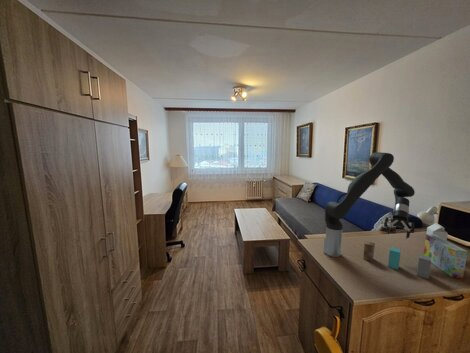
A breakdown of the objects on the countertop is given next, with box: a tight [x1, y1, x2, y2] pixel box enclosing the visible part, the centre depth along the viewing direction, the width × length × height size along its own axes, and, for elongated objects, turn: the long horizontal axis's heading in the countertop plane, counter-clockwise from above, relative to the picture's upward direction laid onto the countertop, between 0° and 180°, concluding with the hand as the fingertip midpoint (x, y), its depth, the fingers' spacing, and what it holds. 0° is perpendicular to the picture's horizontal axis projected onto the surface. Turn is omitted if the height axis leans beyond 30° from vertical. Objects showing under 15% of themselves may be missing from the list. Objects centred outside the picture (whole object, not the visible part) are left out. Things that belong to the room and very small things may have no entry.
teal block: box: [387, 246, 402, 270], centre depth 112 cm, size 4×4×10 cm
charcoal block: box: [416, 254, 432, 280], centre depth 104 cm, size 4×4×10 cm
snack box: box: [423, 233, 469, 279], centre depth 111 cm, size 21×6×15 cm, turn 168°
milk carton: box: [426, 222, 448, 241], centre depth 127 cm, size 7×7×19 cm
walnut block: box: [362, 240, 376, 262], centre depth 120 cm, size 4×4×10 cm
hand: (397, 235), depth 119 cm, fingers open, 8 cm apart
